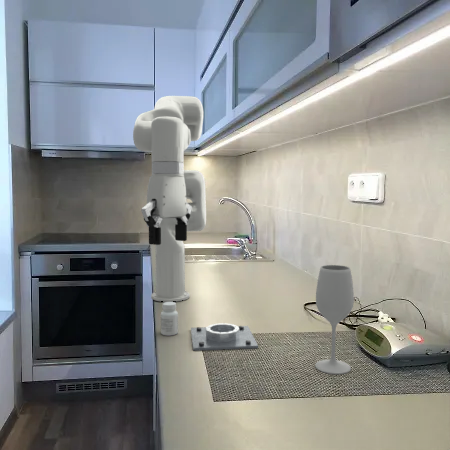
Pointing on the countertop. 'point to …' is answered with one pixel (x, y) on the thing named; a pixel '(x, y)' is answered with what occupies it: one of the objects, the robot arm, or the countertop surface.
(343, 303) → the wineglass
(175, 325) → the pill bottle
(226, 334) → the duct collar
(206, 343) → the flange plate
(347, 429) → the countertop surface
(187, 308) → the countertop surface
